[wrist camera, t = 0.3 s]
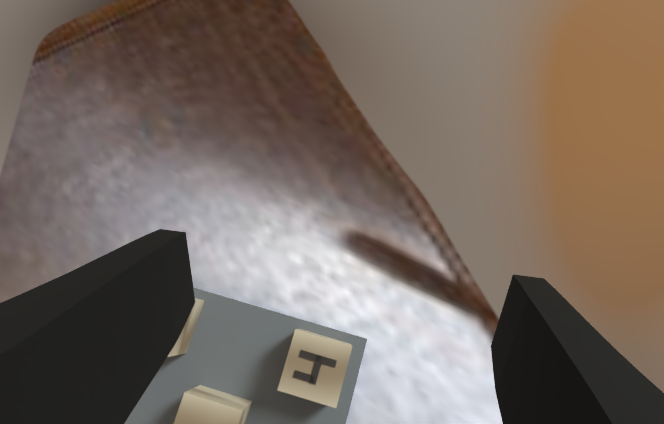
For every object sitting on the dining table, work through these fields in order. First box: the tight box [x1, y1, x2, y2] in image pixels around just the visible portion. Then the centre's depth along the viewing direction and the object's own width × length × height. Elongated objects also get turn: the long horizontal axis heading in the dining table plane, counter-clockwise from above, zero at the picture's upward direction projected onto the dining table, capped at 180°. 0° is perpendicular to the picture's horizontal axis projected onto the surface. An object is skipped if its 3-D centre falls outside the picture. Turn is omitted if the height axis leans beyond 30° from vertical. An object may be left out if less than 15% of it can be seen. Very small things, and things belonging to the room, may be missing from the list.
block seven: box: [167, 298, 204, 357], centre depth 35 cm, size 4×4×4 cm
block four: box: [277, 329, 352, 408], centre depth 34 cm, size 4×4×4 cm
